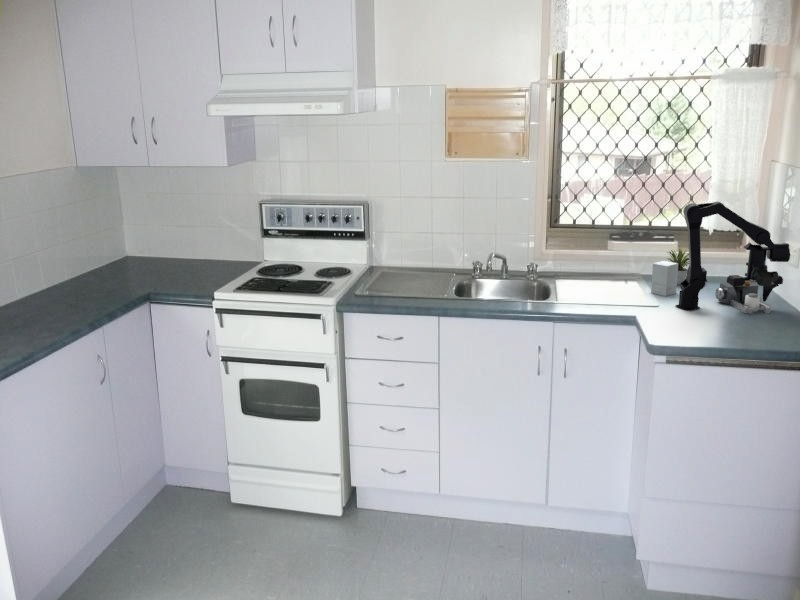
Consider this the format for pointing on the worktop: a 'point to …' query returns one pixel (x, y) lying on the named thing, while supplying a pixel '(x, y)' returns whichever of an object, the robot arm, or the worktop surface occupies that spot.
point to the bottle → (752, 301)
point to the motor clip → (729, 297)
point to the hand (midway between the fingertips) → (752, 301)
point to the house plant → (680, 264)
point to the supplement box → (664, 278)
